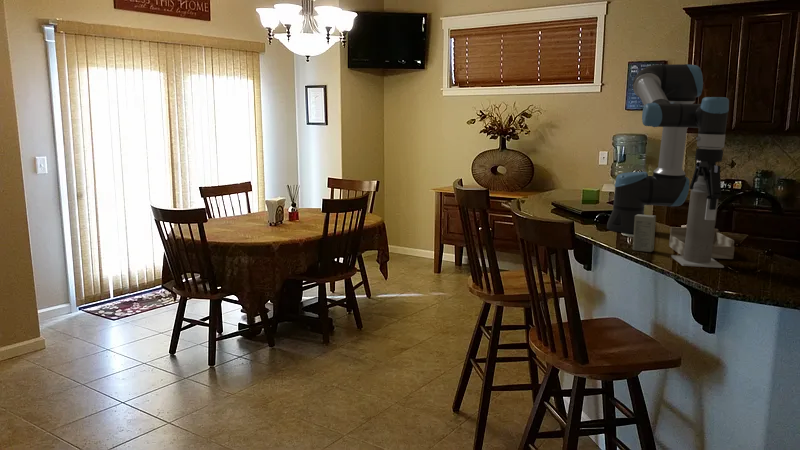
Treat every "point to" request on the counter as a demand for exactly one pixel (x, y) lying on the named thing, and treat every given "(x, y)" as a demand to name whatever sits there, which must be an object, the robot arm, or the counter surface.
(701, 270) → the counter surface
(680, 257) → the ceramic tile
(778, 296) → the counter surface
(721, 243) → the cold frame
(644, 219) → the skincare box
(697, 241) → the thermos bottle
